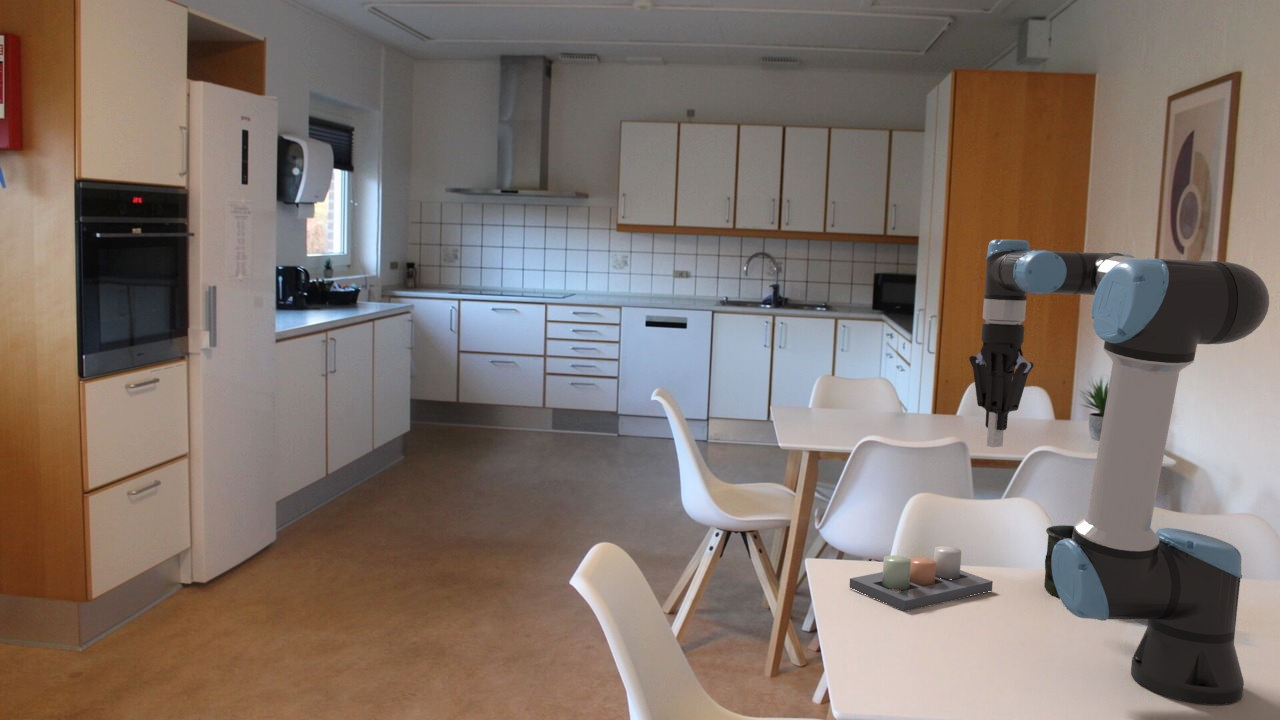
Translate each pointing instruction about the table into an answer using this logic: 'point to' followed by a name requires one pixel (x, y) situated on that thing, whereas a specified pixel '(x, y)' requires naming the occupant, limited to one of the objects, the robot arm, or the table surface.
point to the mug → (1053, 538)
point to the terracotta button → (922, 571)
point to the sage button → (896, 572)
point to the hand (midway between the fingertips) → (994, 445)
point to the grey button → (947, 562)
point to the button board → (921, 590)
